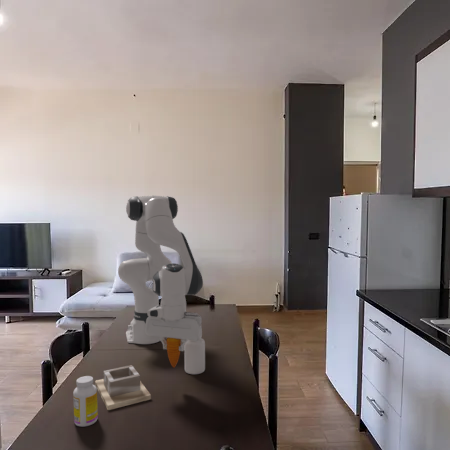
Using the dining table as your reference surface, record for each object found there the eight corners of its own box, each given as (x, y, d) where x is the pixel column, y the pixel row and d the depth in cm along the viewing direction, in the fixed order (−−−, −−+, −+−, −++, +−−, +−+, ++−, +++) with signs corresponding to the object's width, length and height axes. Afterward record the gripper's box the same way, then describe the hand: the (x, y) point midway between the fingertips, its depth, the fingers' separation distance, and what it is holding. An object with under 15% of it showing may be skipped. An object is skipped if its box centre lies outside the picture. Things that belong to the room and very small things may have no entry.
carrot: (174, 363, 141) (173, 322, 140) (183, 367, 138) (183, 325, 137) (163, 368, 137) (163, 326, 136) (173, 371, 134) (173, 329, 133)
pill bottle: (186, 376, 146) (186, 336, 145) (183, 367, 154) (182, 330, 153) (207, 373, 148) (206, 334, 147) (202, 365, 156) (202, 328, 155)
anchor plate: (95, 384, 140) (94, 367, 139) (133, 376, 146) (133, 359, 146) (107, 410, 122) (107, 390, 122) (150, 399, 129) (150, 380, 129)
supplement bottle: (100, 415, 120) (99, 374, 119) (94, 427, 113) (93, 384, 112) (78, 415, 119) (77, 374, 119) (70, 428, 113) (69, 384, 112)
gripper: (204, 310, 136) (204, 349, 137) (151, 306, 142) (151, 343, 143) (198, 316, 130) (198, 356, 131) (143, 311, 136) (143, 349, 137)
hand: (173, 349), depth 137 cm, fingers closed on carrot, 4 cm apart
